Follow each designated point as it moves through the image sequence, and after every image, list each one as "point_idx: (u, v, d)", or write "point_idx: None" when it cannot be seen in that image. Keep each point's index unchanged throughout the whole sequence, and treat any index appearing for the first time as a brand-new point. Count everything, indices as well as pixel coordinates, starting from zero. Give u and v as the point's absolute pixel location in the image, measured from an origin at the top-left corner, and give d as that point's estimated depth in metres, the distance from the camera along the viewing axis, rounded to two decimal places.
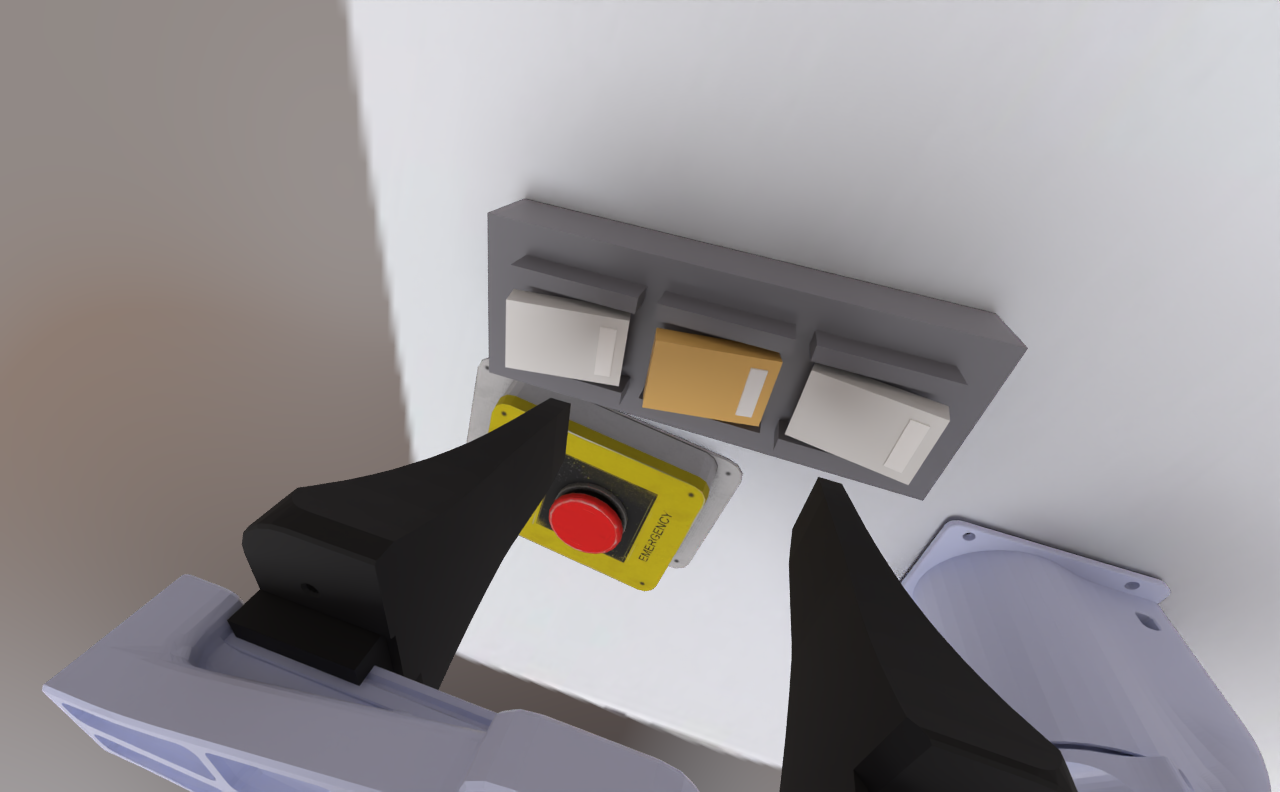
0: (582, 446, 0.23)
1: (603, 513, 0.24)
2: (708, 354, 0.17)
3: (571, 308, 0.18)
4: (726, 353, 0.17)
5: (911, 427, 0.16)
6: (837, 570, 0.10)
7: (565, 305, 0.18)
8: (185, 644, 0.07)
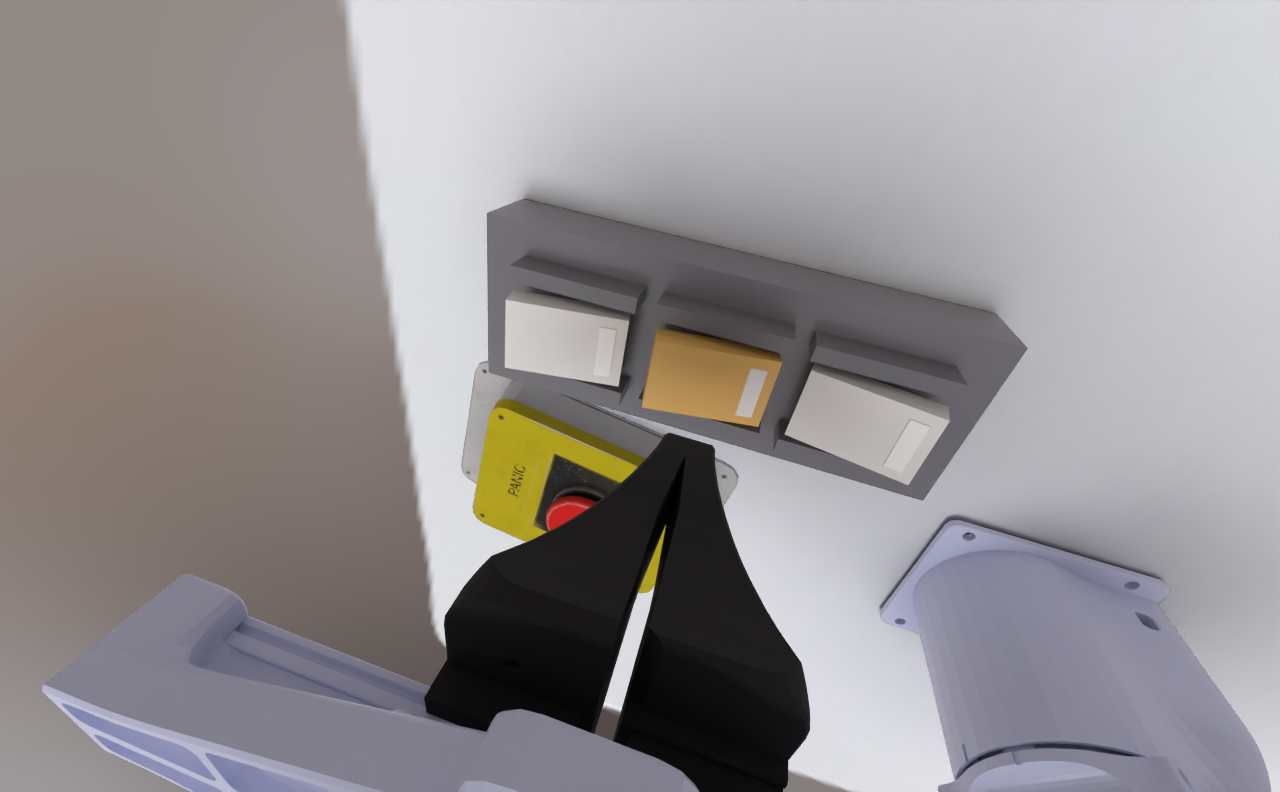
0: (579, 450, 0.24)
1: None
2: (708, 354, 0.17)
3: (570, 308, 0.18)
4: (726, 353, 0.17)
5: (911, 427, 0.16)
6: (676, 519, 0.10)
7: (565, 305, 0.18)
8: (185, 644, 0.07)
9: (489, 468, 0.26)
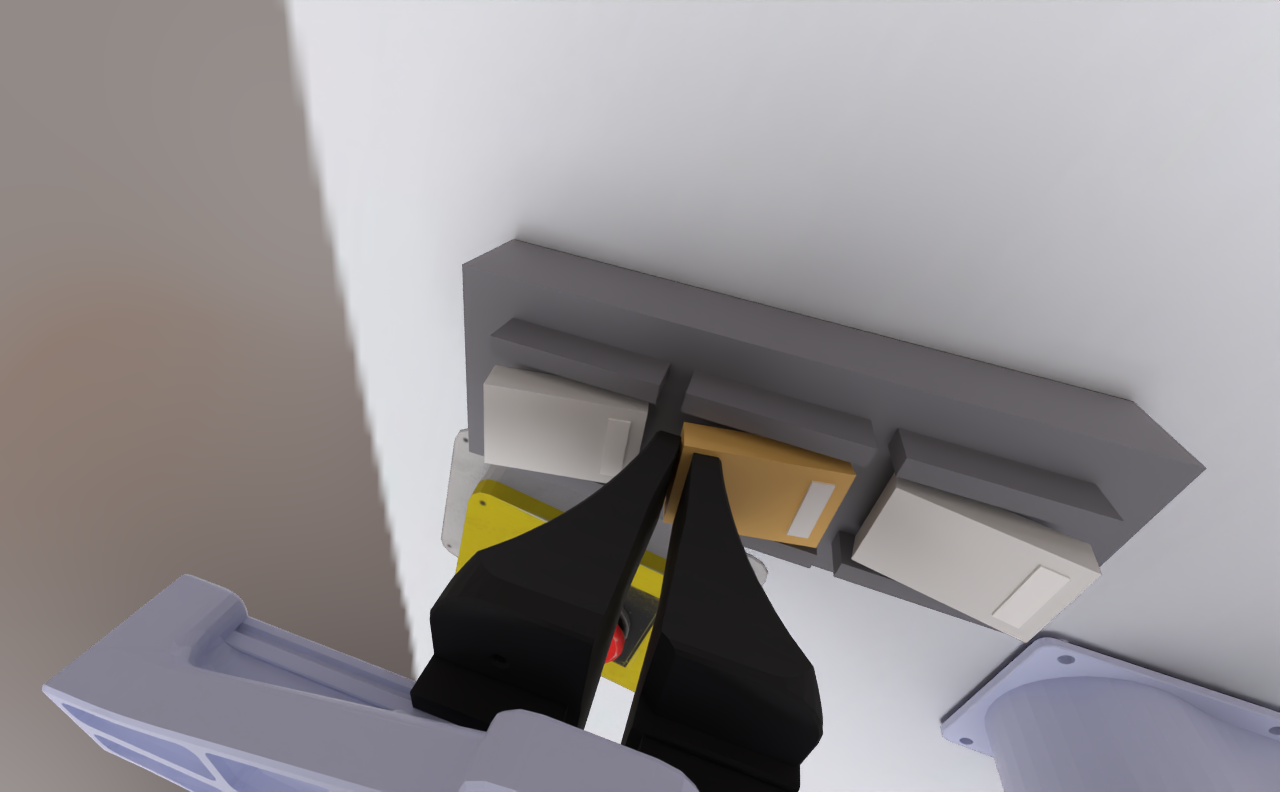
0: None
1: None
2: (755, 463, 0.12)
3: (570, 394, 0.13)
4: (779, 463, 0.12)
5: (1040, 574, 0.12)
6: (684, 521, 0.10)
7: (562, 389, 0.13)
8: (185, 644, 0.07)
9: (469, 556, 0.22)
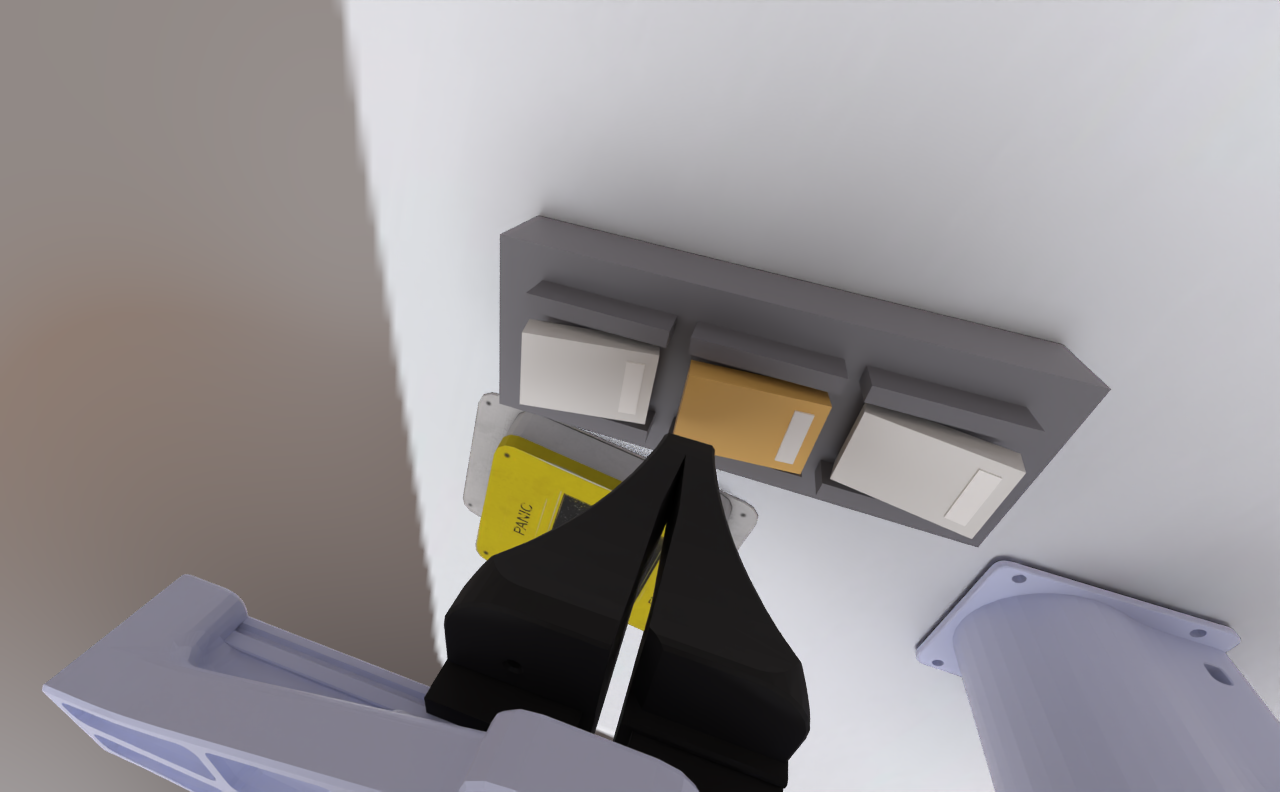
0: (590, 490, 0.22)
1: None
2: (747, 393, 0.15)
3: (593, 341, 0.16)
4: (767, 393, 0.15)
5: (979, 478, 0.14)
6: (676, 519, 0.10)
7: (587, 337, 0.16)
8: (185, 644, 0.07)
9: (493, 506, 0.24)
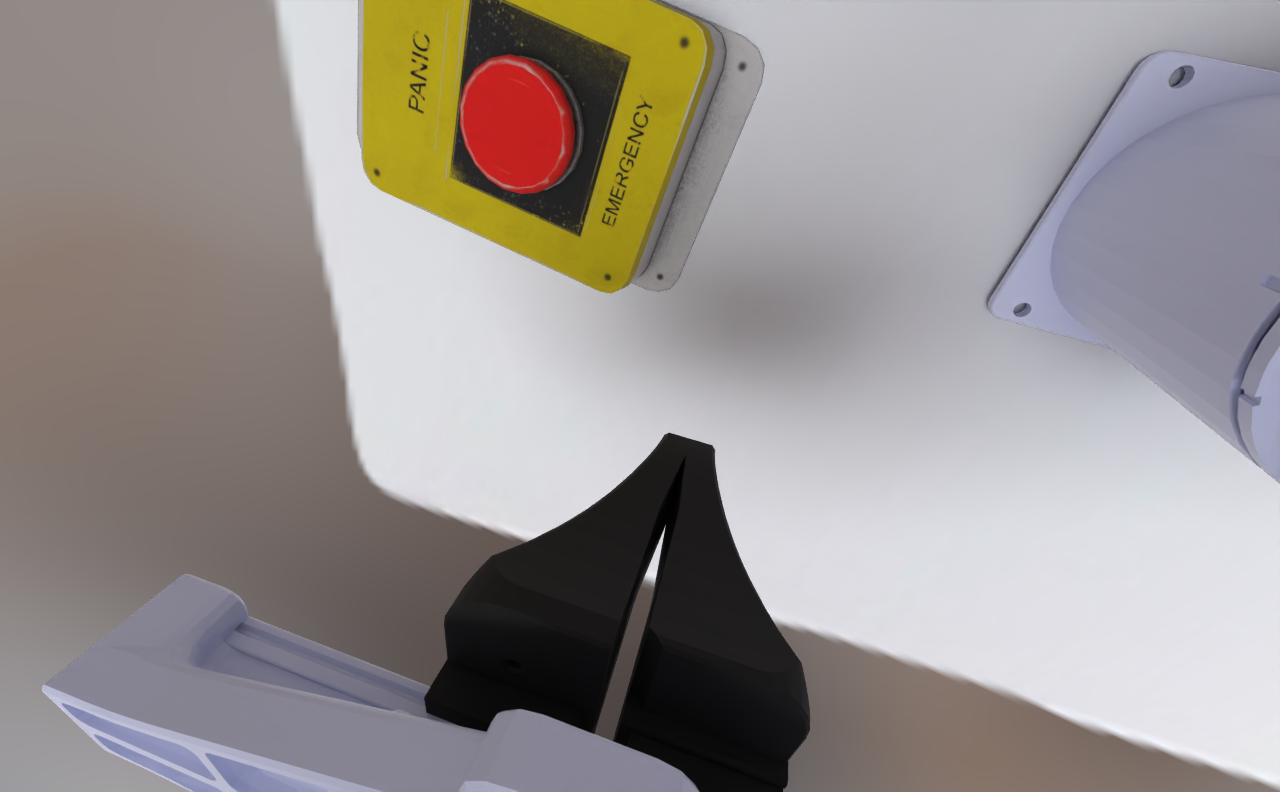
0: None
1: (541, 82, 0.15)
2: None
3: None
4: None
5: None
6: (676, 519, 0.10)
7: None
8: (185, 644, 0.07)
9: (376, 56, 0.17)
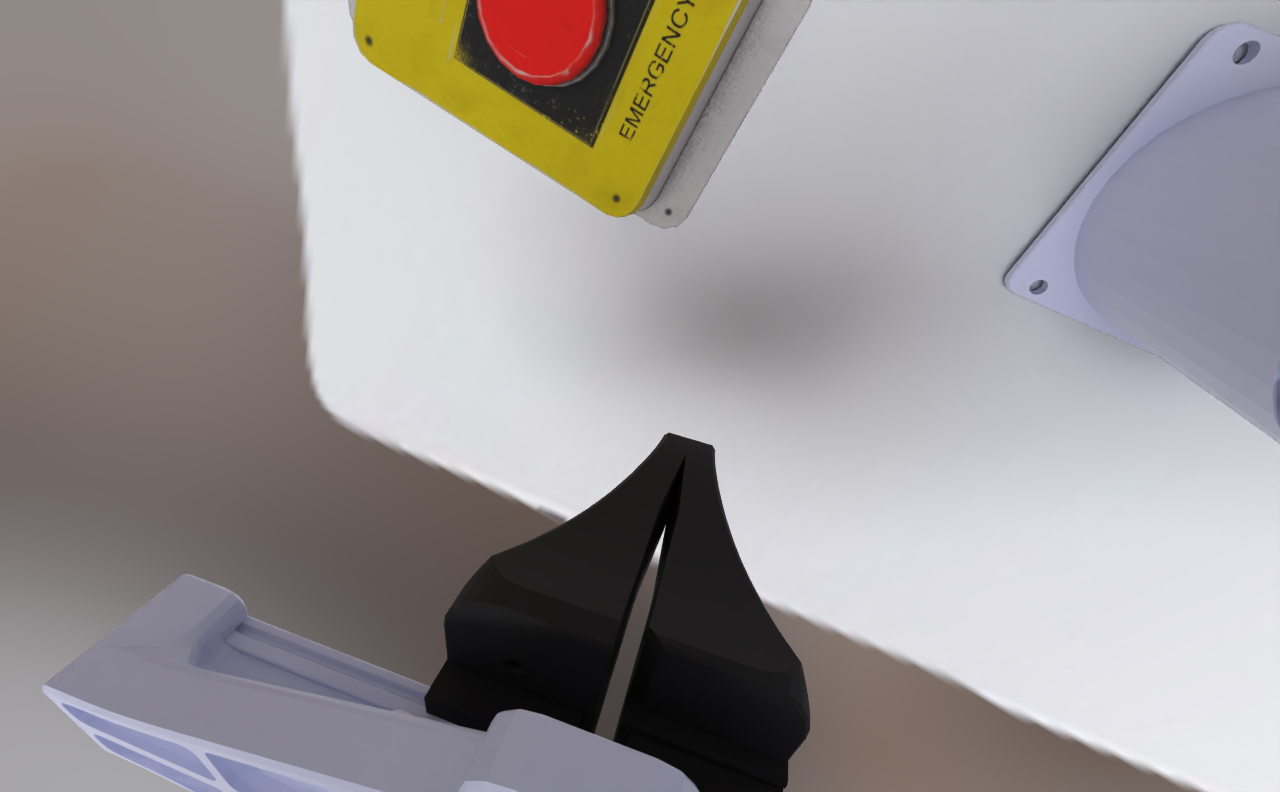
0: None
1: None
2: None
3: None
4: None
5: None
6: (676, 519, 0.10)
7: None
8: (185, 644, 0.07)
9: None
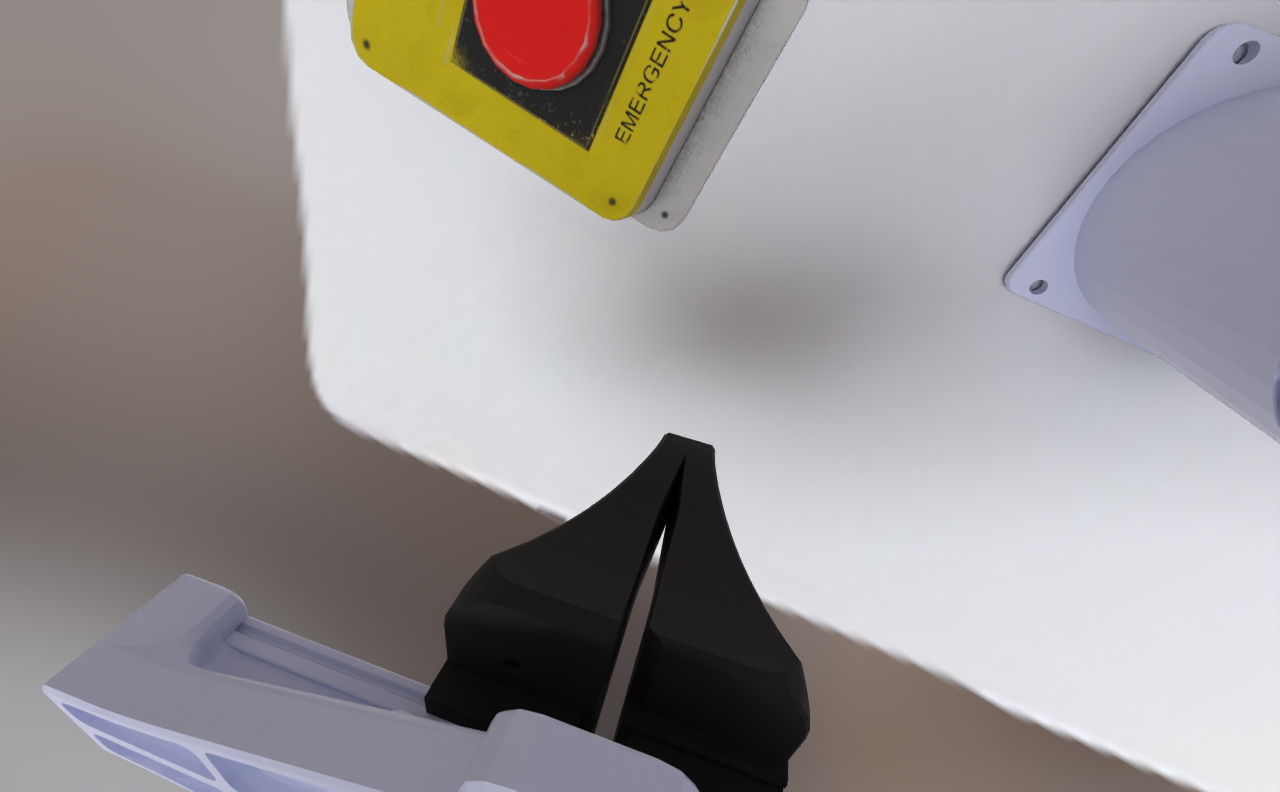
0: None
1: None
2: None
3: None
4: None
5: None
6: (676, 519, 0.10)
7: None
8: (185, 644, 0.07)
9: None
